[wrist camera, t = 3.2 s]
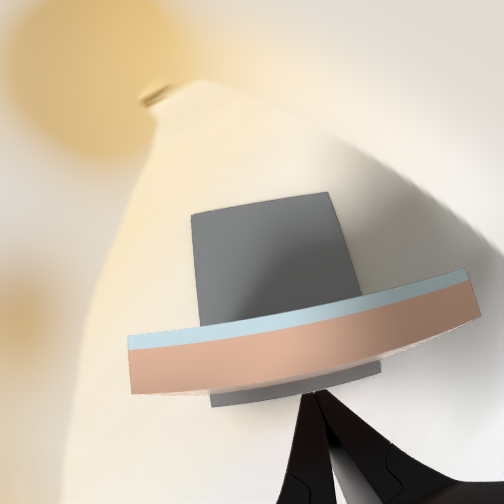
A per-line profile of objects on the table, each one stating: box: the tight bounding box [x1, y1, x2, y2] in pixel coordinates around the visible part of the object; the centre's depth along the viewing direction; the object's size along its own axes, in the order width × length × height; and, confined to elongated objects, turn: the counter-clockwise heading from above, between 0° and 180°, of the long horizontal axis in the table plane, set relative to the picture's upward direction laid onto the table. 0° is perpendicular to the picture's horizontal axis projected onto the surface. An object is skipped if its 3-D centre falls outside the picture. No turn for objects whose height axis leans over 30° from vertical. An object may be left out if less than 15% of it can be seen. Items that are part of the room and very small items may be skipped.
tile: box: [127, 268, 481, 395], centre depth 11 cm, size 2×10×10 cm, turn 99°
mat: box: [191, 192, 381, 407], centre depth 18 cm, size 13×10×1 cm
